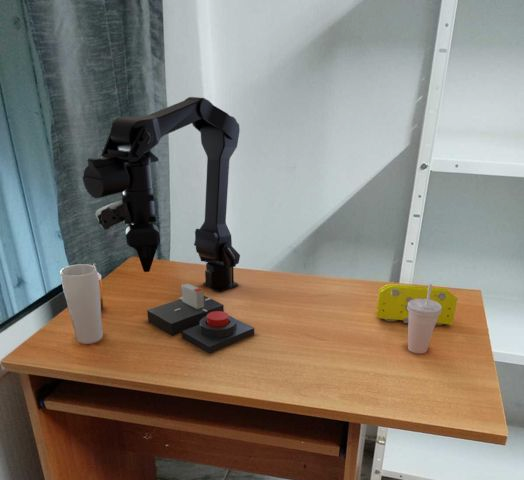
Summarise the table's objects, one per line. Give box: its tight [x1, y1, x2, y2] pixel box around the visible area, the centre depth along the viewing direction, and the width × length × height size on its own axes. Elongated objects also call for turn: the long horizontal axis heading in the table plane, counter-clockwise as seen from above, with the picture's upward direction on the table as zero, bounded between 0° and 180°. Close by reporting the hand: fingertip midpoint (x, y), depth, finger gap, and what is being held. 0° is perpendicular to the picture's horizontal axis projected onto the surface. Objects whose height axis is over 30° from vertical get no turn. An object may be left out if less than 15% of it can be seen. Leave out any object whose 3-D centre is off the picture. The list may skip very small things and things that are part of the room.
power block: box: [181, 315, 255, 355], centre depth 110 cm, size 12×9×4 cm
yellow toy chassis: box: [376, 283, 458, 326], centre depth 117 cm, size 16×6×8 cm, turn 79°
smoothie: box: [407, 283, 442, 354], centre depth 104 cm, size 6×6×14 cm
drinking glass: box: [60, 263, 104, 345], centre depth 106 cm, size 7×7×15 cm
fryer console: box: [146, 294, 225, 337], centre depth 117 cm, size 14×10×3 cm
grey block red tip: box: [180, 282, 204, 309], centre depth 117 cm, size 6×2×4 cm, turn 44°
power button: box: [207, 311, 230, 327], centre depth 109 cm, size 4×4×2 cm
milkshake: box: [93, 263, 104, 313], centre depth 120 cm, size 4×5×10 cm
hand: (145, 263), depth 113 cm, fingers open, 9 cm apart
